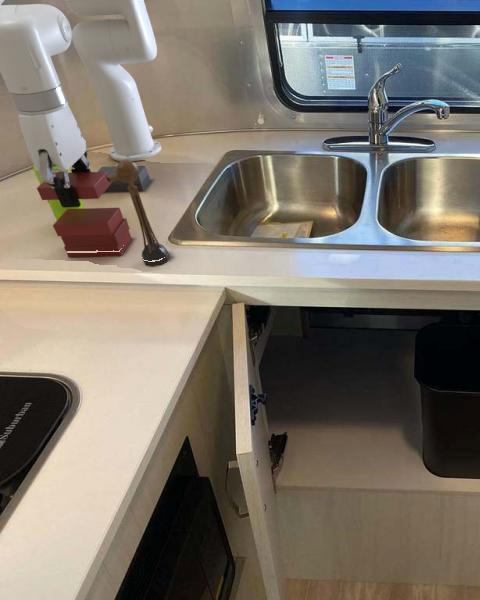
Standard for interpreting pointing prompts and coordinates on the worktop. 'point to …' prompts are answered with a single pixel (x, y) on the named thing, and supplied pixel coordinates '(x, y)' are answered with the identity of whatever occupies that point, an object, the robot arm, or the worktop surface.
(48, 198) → the red book
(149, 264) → the wooden tabletop sculpture
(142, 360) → the worktop surface
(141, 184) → the grey books
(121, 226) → the red books
